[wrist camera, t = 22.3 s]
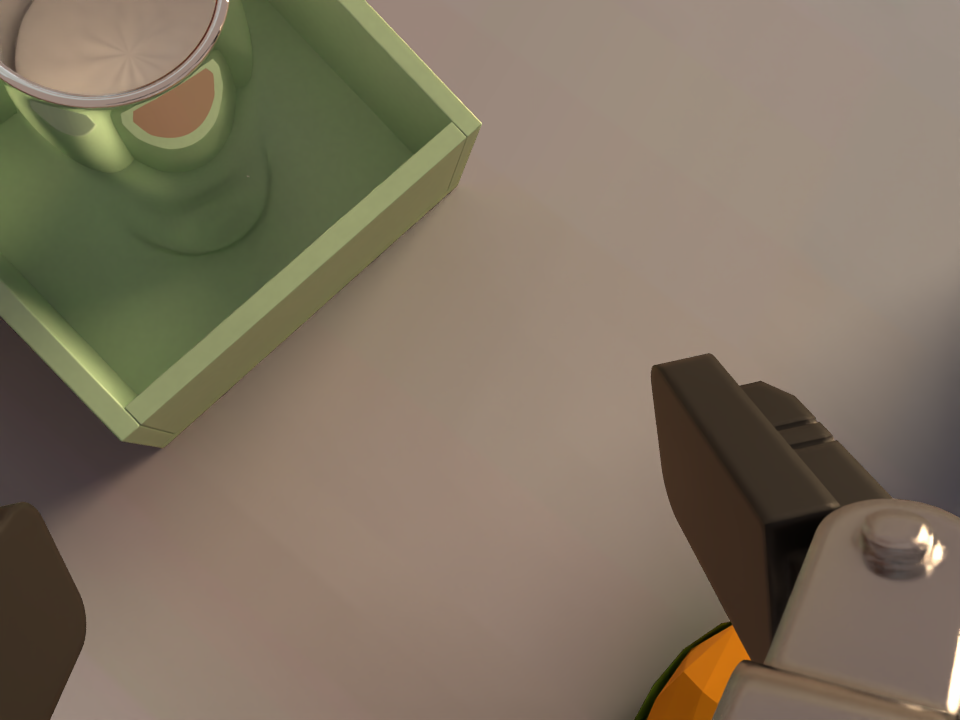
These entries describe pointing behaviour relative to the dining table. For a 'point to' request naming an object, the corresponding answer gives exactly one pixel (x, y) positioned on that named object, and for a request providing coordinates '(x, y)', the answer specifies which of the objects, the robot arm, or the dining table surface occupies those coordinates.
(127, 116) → the beer glass
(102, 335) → the tub
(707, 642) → the corn
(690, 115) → the dining table surface
